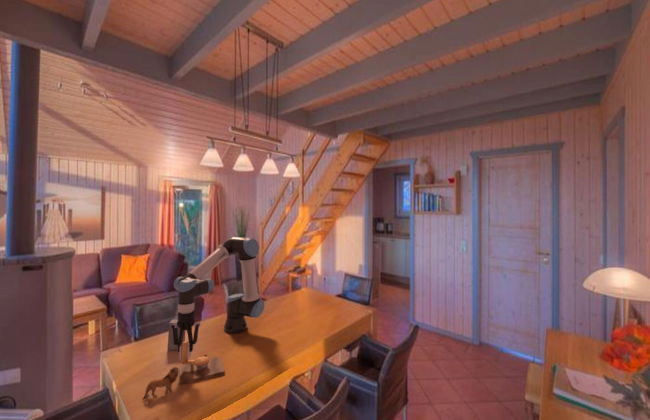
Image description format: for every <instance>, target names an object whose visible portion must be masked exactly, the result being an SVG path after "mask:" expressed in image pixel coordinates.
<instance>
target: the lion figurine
mask: <svg viewBox="0 0 650 420" xmlns="http://www.w3.org/2000/svg"><path fill="white" fill-rule="evenodd" d="M178 376H179V367H175V366H173V367H172V368H171V369H169V371H168V373H167V374H166V375H165V376H164V377H162V378H159V379H153V380H151V381H150V382H149V383H148V384H147V385H146V388H145V394H144V396H143V397H142V401H143V400H144V401H145V399H146V398H147V397H149V396H150V394H149V392H151V396H152V397H153V398H154V399H155V398H158V394H156V390H157V388H165V390H166V391H168V392H169V393H171V392H172V391H173V389H172V386H173V384H174V383H175V382H176V380H177V379H178ZM172 393H173V392H172Z"/></svg>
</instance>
